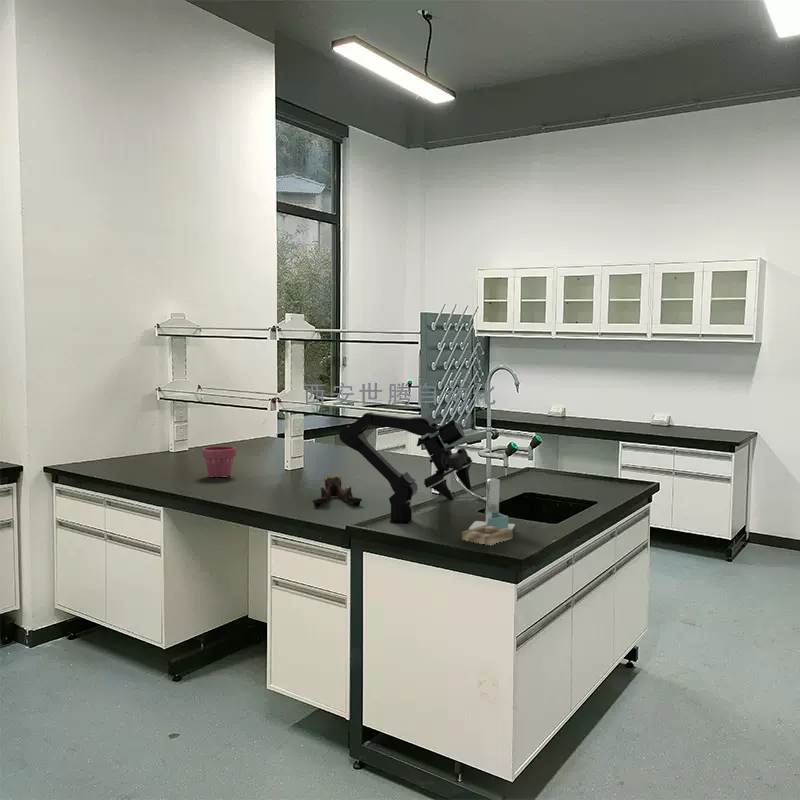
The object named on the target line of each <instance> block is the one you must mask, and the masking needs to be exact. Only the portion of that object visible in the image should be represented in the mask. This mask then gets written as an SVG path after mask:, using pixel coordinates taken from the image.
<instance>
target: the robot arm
mask: <svg viewBox="0 0 800 800" xmlns="http://www.w3.org/2000/svg"><path fill="white" fill-rule="evenodd" d="M371 426H375V427H382V428H391V429H397V430H404V431H406V432H408V433H409V434H413V435H417V436H419V437H418V439H417V444H416V446H417V447H420V446H424V448H425V450H426V452H427V454H428V455H429V458H430V459H429V462H430V464H432V463H433V465H434V466H435V469H436V470H435V473H433V474H432V475H429V476H428V477H426V478H424V480H423V484H424V485H425V489H426V488H427V489H428V488H429V489H431V490H432V489H433V490H435V491H436V492H438V493H439V494H441V495H442V496H443V497H445V498H446V499H447V500H449V501H450V502H453V501H454V497H453V495H452V493H451V491H450V489H449V487H448V485H447V478H446V479H445V477H446V476H448V475H449V474H451V473H452V472H453V473H455V475H456V476H457V477H458V479H459V480H460V481H461V483H462V484H463V485H464V487H465V488H466V489H467V490H468V491H469V490H471V489H472V485H471V480H470V472H469V470H470V469H471V468H470V467H471V466H472V463H473V459H472V458H471V456H469V454H468V452H467V451H466V449H465V448H464V447H460V448H458V449H457V451H456V452H454V453H453V452H452V450H451V449H447V447H445V445H448V446H451V445H453V444H455V443H457V442H458V441H460V440H462V439H464V438H465V437H466V435H465V433H464V430H463V428H462V426H460V424H459V423H458V422H456V420H455V419H454V418H452V419H451V420H449V421H448V422H447V423H445V424H443V425H440V424H438V423H435V422H434V421H433V420H432V419H431V418H430V417H428V416H427V415H426V416H425V415H424V416H410V417H409V416H408V417H403V416H395V415H390V414H389V415H387V414H380V413H374V412H369V411H368V412H366V413H364V414H363V415H362V416H361V417H359V419H356V420H355V421H354V422H352V423H351V424H350V425H347V426H344V427H342V428H341V429H340V431H339V434H338V435H339V437H338V438H339V440H340V441H341V443H343V444H344V445H346V446H347V447H349V448H350V449H352V450H355V451H356V452H358V453H359V454H360V455H361V456H362V457H363V458H364V459H366V461H367V462H368V463H369V464H370V465H371V466H373V468H374V469H376V471H377V472H379V474H381V475H382V477H384V479H386V480H387V481H388V483H389V485H390V488H391V489H392V491H393V494H392V495H391V496H390V497H389V498H388V500H389V504H390V519H389V523H391V522H410V523H411V521H412V520H413V514H414V513H413V506H412V499H413V497H414V496H415V495H416V494H417V493H418V484H417V482H416V481H417V480H416V479H415V478H413V477H412V476H411V474H409V473H408V472H407V471H406V472H404V473H401V472H399V471H398V470H397V469H396V468H395V467H394V466H393V465H392V464H391V463H390V462H389V461H388V460H387V459H385V457H384V456H383V455H382V454H380V452H379V451H377V450H376V449H375V448H374V447H373V446H372V445H371V444H370V442H369V441H368V438H367V437H366V435H365V433H364V432H365V431H367V430H368V428H370V427H371ZM437 432H438V433H437ZM435 433H436V434H435ZM427 434H428V435H427ZM433 434H434V435H433ZM425 435H426V436H425ZM420 436H421V437H420ZM422 436H424V437H422ZM454 471H456V472H454Z"/></svg>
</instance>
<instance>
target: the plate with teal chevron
mask: <svg viewBox="0 0 800 800" xmlns="http://www.w3.org/2000/svg"><path fill="white" fill-rule="evenodd" d="M483 525H486V521H481V520H475V521H474V522H473V523H472V524H471V525H470V526H469V528H468V530H470V529H473V528H476V527H479V526H483ZM488 525H489V526H494V527H499V528H504V529H509V530H513V531H514V528H515V527H516V523H509V516H508V515H507V514H506V515H505V514H502V513H500V512H499V517H496V518H488Z"/></svg>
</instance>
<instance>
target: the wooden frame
mask: <svg viewBox="0 0 800 800" xmlns="http://www.w3.org/2000/svg"><path fill="white" fill-rule="evenodd" d="M461 532H462V533H461V541H464V540H465V542H469V541H470V542H469V543H473V542H474V544H478V543H479V544H478V545H482V544H485V545H484V546H487V545H490V546H489V547H492V546H495V545H497V544H496V543H498V544H500V543H499V542H501V543H504V542H506V541H508V540H512V539H513V537H514V536H513V532H514V529H513V530H509V529H504V528H499V527H494V526H489V525H483V526H479V527H476V528H473V529H470V530H469V529H467V530H463V531H461ZM503 541H504V542H503ZM494 544H495V545H494ZM491 545H492V546H491Z"/></svg>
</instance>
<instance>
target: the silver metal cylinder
mask: <svg viewBox="0 0 800 800" xmlns="http://www.w3.org/2000/svg"><path fill="white" fill-rule="evenodd" d="M500 483H501V481H500V479H498V478H487V479H486V495H485V496H486V498H485V499H486V500H485V501H486V502H485V503H486V504H485V522H486V525H488V518H496V517H499V513H500V485H501V484H500Z"/></svg>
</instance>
